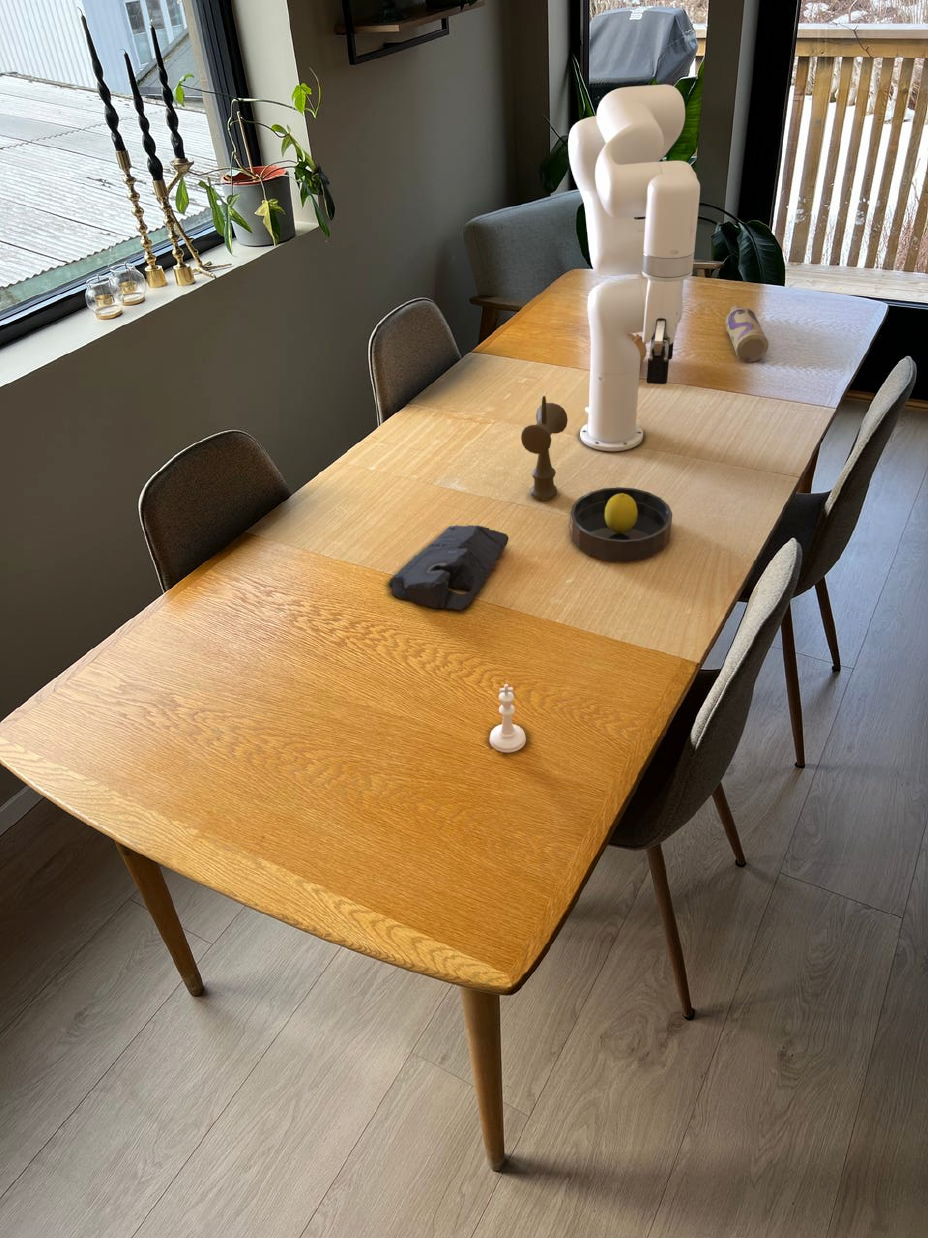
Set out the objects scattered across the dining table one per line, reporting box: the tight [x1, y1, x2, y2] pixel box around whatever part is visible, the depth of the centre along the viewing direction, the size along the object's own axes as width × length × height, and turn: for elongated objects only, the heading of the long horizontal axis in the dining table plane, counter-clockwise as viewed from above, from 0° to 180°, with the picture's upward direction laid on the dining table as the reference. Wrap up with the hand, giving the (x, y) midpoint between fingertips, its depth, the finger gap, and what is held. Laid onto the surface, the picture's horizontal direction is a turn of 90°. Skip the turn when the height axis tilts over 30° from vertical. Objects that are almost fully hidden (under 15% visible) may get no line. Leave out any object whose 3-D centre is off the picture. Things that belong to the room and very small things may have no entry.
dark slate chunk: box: [388, 524, 509, 611], centre depth 162 cm, size 15×22×5 cm
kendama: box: [520, 395, 569, 501], centre depth 175 cm, size 6×10×20 cm, turn 157°
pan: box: [569, 486, 673, 563], centre depth 168 cm, size 17×17×4 cm
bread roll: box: [628, 333, 648, 365], centre depth 219 cm, size 10×15×8 cm, turn 159°
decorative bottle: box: [724, 304, 770, 363], centre depth 229 cm, size 26×8×7 cm, turn 176°
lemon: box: [605, 493, 637, 534], centre depth 167 cm, size 6×6×8 cm
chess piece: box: [489, 683, 527, 753], centre depth 129 cm, size 5×5×10 cm
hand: (659, 370), depth 157 cm, fingers open, 9 cm apart
